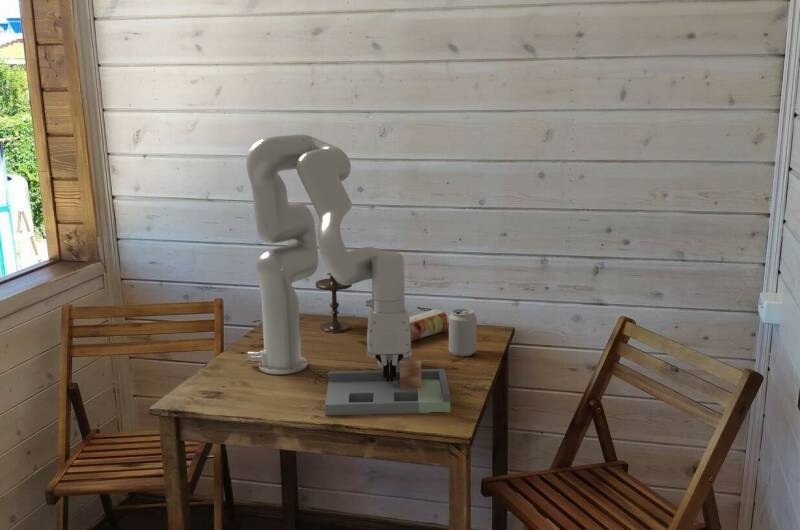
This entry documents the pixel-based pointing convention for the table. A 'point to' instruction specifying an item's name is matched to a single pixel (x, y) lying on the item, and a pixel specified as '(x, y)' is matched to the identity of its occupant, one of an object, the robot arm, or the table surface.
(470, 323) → the can
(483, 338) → the table surface
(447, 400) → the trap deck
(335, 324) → the candlestick
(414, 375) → the block
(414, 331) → the snack package
